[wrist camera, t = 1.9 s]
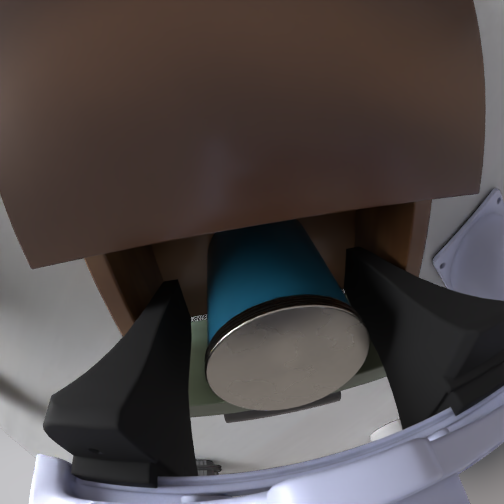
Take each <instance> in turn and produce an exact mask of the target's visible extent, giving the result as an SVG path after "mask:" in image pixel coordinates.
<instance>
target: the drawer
mask: <svg viewBox="0 0 504 504" xmlns="http://www.w3.org/2000/svg"><path fill="white" fill-rule="evenodd" d="M431 203H432V199H431V200H424V201H416V202H408V203H401V204H393V205H386V206H379V207H372V208H365V209H358V210H351V211H345V212H338V213H331V214H325V215H318V216H312V217H306V218H299V219H296V220H298V221H299V222H300V224H301V225H302V226H303V227H304V229H305V230H306V232H307V233H308V235H309V237H310V238H311V240H312V242H313V243H314V245H315V246H316V248H317V250H318V251H319V253H320V255H321V256H322V258H323V259H324V261H325V263H326V264H327V266H328V268H329V269H330V271H331V273H332V274H333V276H334V278H335V280H336V281H337V283H338V285H339V286H340V288H341V289H344V277H345V260H346V249H348V248H353V247H358V246H360V247H362V248H364V249H366V250H368V251H370V252H372V253H374V254H375V255H377V256H379V257H381V258H383V259H384V260H386V261H388V262H390V263H392V264H393V265H395V266H397V267H399V268H401V269H403V270H405V271H407V272H409V273H411V274H413V275H415V276H417V277H419V273H420V269H421V264H422V259H423V254H424V249H425V243H426V238H427V231H428V225H429V218H430V211H431ZM214 234H215V233H211V234H205V235H200V236H194V237H189V238H183V239H178V240H173V241H167V242H162V243H157V244H152V245H147V246H141V247H136V248H131V249H126V250H121V251H116V252H111V253H106V254H102V255H97V256H92V257H87V258H84V260H85V262H86V264H87V267H88V269H89V271H90V273H91V275H92V278H93V280H94V282H95V284H96V286H97V288H98V290H99V292H100V294H101V296H102V298H103V300H104V302H105V304H106V306H107V308H108V310H109V312H110V314H111V316H112V318H113V320H114V322H115V323H116V325H117V327H118V329H119V331H120V332H121V334H122V336H124V335H125V334H126V333H127V332H128V330H129V329H130V328H131V326H132V325H133V324H134V323H135V321H136V320H137V319H138V317H139V316H140V315H141V313H142V312H143V310H144V309H145V308H146V306H147V305H148V303H149V302H150V300H151V299H152V297H153V296H154V294H155V293H156V291H157V290H158V289H159V287H160V286H161V284H162V283H163V282H164V281H170V280H176V279H178V281H179V284H180V287H181V290H182V293H183V296H184V299H185V302H186V305H187V308H188V311H189V313H190V316H191V317H192V316H199V315H206V314H207V255H208V248H209V244H210V241H211V239H212V237H213V235H214ZM344 295H345V297H346V298H347V300H348V297H347V295H346V293H344ZM348 302H349V300H348ZM349 304H350V302H349ZM350 305H351V304H350ZM191 332H192V342H191V356H190V370H189V389H188V394H189V409H190V417H201V416H211V415H220V414H224V417H225V421H226V422H227V423H231V422H239V421H246V420H253V419H259V418H265V417H270V416H276V415H281V414H286V413H291V412H296V411H300V410H305V409H309V408H313V407H317V406H321V405H325V404H329V403H333V402H336V401H340V399H341V391H342V390H346V389H349V388H352V387H356V386H359V385H362V384H366V383H369V382H372V381H375V380H378V379H381V378H384V377H387V375H386V372H385V370H384V367H383V365H382V362H381V360H380V357H379V355H378V353H377V351H376V349H375V347H374V345H373V343H372V341H371V340H370V346H369V351H368V355H367V357H366V359H365V361H364V363H363V365H362V366H361V368H360V369H359V370H358V371H357V373H356V374H355V375H354V376H353V377H352V378H351V379H350V380H349V381H348V382H346V383H345V384H344V385H343V386H341V387H340V388H339V389H337V390H336V391H334V392H332V393H331V394H329V395H327V396H325V397H323V398H321V399H319V400H316V401H314V402H311V403H308V404H305V405H302V406H298V407H294V408H289V409H282V410H270V411H267V410H252V409H246V408H242V407H238V406H235V405H233V404H230V403H228V402H226V401H224V400H223V399H221V398H220V397H219V396H217V395H216V394H215V393H214V392H213V391H212V389H211V388H210V386H209V385H208V383H207V380H206V377H205V353H206V349H207V347H208V341H207V320H200V321H194V322H191Z"/></svg>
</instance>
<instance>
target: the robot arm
mask: <svg viewBox="0 0 504 504" xmlns="http://www.w3.org/2000/svg"><path fill="white" fill-rule="evenodd" d="M433 265H434V267H435V268H436V270H437V272H438V273H439V275H440V277H441V279H442V280H443V282H444V284H445V286H446V287H447V288H444V287H441V286H438V285H436V284H433V283H431V282H428V281H426V280H423V279H421V278H419V277H417V276H415V275H413V274H411V273H409V272H407V271H405V270H403V269H401V268H399V267H397V266H395V265H393V264H392V263H390V262H388V261H386V260H384V259H383V258H381V257H379V256H377V255H375V254H374V253H372V252H370V251H368V250H366V249H364V248H362V247H360V246H358V247H353V248H348V249H346V260H345V277H344V290H345V292H346V295H347V297H348V300H349V302H350V304H351V307H353V308H354V309H355V310H356V311H357V312H358V313H359V315H360V317H361V318H362V320H363V322H364V323H365V325H366V327H367V329H368V332H369V337H370V340H371V341H372V343H373V345H374V347H375V349H376V351H377V353H378V355H379V357H380V360H381V362H382V365H383V367H384V370H385V372H386V375H387V378H388V381H389V383H390V386H391V389H392V392H393V396H394V399H395V402H396V406H397V409H398V413H399V417H400V421H401V425H402V430H401V431H399V432H396V433H394V434H391V435H389V436H386V437H384V438H381V439H378V440H376V441H373V442H370V443H367V444H364V445H362V446H359V447H355V448H352V449H349V450H346V451H343V452H339V453H336V454H332V455H329V456H325V457H321V458H317V459H313V460H309V461H305V462H300V463H296V464H291V465H286V466H281V467H276V468H270V469H264V470H257V471H250V472H242V473H233V474H222V475H209V476H198V471H197V465H196V459H195V453H194V446H193V439H192V431H191V421H190V409H189V394H188V389H189V370H190V356H191V342H192V332H191V316H190V313H189V311H188V308H187V305H186V302H185V299H184V296H183V293H182V290H181V287H180V284H179V281H178V279H176V280H170V281H164V282H163V283H162V284H161V286H160V287H159V289H158V290H157V291H156V293H155V294H154V296H153V297H152V299H151V300H150V302H149V303H148V305H147V306H146V308H145V309H144V310H143V312H142V313H141V315H140V316H139V317H138V319H137V320H136V321H135V323H134V324H133V325H132V326H131V328H130V329H129V330H128V332H127V333H126V334H125V335H124V336H123V338H122V339H121V340H120V341H119V342H118V343H117V344H116V345H115V346H114V347H113V348H112V349H111V350H110V351H109V352H108V353H107V354H106V355H105V356H104V357H103V358H102V359H101V360H100V361H99V362H98V363H97V364H95V365H94V366H93V367H92V368H91V369H89V370H88V371H87V372H86V373H85V374H83V375H82V376H81V377H79V378H78V379H77V380H75V381H74V382H72V383H71V384H69V385H68V386H66V387H65V388H63V389H61V390H60V391H58V392H57V393H55V394H53V395H52V396H51V399H50V402H49V406H48V409H47V413H46V416H45V420H44V423H43V428H44V431H45V432H46V434H47V435H48V436H49V437H50V438H51V439H52V440H53V441H55V442H56V443H57V444H59V445H60V446H61V447H63V448H64V449H65V450H67V451H68V452H69V453H71V454H72V455H74V456H73V462H72V464H71V463H69V462H67V461H65V460H63V459H60V458H56V457H51V456H47V455H43V454H37V458H36V463H35V468H34V473H33V479H32V485H31V492H30V500H29V504H470V502H469V499H468V497H467V494H466V492H465V490H464V487H463V485H462V483H461V480H460V478H459V476H458V474H460V473H461V472H463V471H464V470H466V469H468V468H469V467H471V466H472V465H473V464H475V463H476V462H478V461H479V460H481V459H482V458H484V457H485V456H486V455H488V454H489V453H490V452H492V451H493V450H494V449H496V448H497V447H498V446H500V445H501V444H502V443H503V442H504V202H503V199H502V195H501V192H500V190H499V189H497V188H494V189H493V190H492V191H491V193H490V194H489V195H488V196H487V198H486V199H485V200H484V201H483V203H482V204H481V205H480V206H479V208H478V209H477V210H476V211H475V212H474V214H473V215H472V216H471V217H470V218H469V220H468V221H467V222H466V223H465V224H464V225H463V226H462V228H461V229H460V230H459V231H458V232H457V233H456V234H455V235H454V236H453V238H452V239H451V240H450V241H449V242H448V243H447V244H446V245H445V246H444V247H443V248H442V249H441V250H440V251H439V253H438V254H437V255H436V256H435V257H434V259H433ZM243 495H245V496H243ZM233 496H239V497H233Z"/></svg>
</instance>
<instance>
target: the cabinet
mask: <svg viewBox="0 0 504 504" xmlns="http://www.w3.org/2000/svg"><path fill="white" fill-rule="evenodd" d="M485 114H486V105H485V77H484V64H483V54H482V46H481V39H480V32H479V26H478V21H477V16H476V11H475V6H474V2H473V0H0V194H1V197H2V200H3V203H4V206H5V208H6V211H7V214H8V217H9V219H10V222H11V224H12V227H13V229H14V232H15V234H16V237H17V239H18V241H19V244H20V246H21V248H22V250H23V252H24V255H25V257H26V259H27V261H28V263H29V265H30V267H31V269H36V268H41V267H45V266H50V265H54V264H59V263H64V262H68V261H73V260H78V259H82V258H87V257H92V256H97V255H102V254H106V253H111V252H116V251H121V250H126V249H131V248H136V247H141V246H147V245H152V244H157V243H162V242H167V241H173V240H178V239H183V238H189V237H194V236H200V235H205V234H211V233H216V232H222V231H228V230H233V229H239V228H245V227H251V226H257V225H263V224H269V223H275V222H281V221H287V220H293V219H299V218H306V217H312V216H318V215H325V214H331V213H338V212H345V211H351V210H358V209H365V208H372V207H379V206H386V205H393V204H401V203H408V202H416V201H424V200H431V199H439V198H447V197H456V196H464V195H473V194H479V190H480V183H481V175H482V167H483V156H484V143H485Z"/></svg>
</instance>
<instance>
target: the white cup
mask: <svg viewBox="0 0 504 504" xmlns="http://www.w3.org/2000/svg"><path fill="white" fill-rule="evenodd" d="M401 430H402V425H401V421H400V420H396V421H394V422H391V423H389V424H387V425H384V426H383V427H381V428H379V429H378V430H376V431H375V432H374V433H372V434H371V436H370V439H371V442H373V441H376V440H378V439H381V438H384V437H386V436H389V435H391V434H394V433H396V432H399V431H401Z"/></svg>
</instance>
